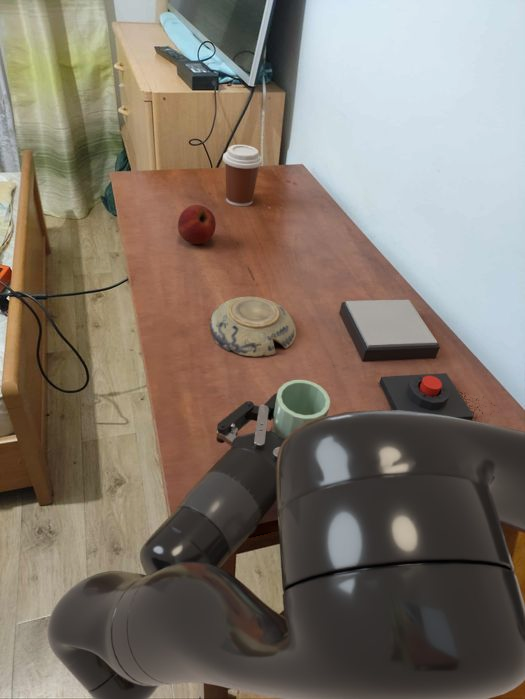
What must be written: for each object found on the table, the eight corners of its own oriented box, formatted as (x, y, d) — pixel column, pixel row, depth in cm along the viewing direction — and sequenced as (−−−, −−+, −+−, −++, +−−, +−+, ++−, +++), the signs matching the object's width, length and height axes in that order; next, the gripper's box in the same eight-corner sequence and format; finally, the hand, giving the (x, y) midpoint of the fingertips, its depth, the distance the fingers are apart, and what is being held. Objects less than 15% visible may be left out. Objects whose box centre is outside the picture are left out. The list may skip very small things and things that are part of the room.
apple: (184, 253, 101) (184, 215, 96) (173, 234, 107) (172, 198, 101) (219, 248, 104) (221, 212, 99) (206, 230, 109) (207, 195, 104)
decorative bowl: (241, 292, 93) (188, 329, 83) (243, 274, 91) (188, 311, 81) (311, 326, 88) (263, 371, 78) (315, 309, 86) (266, 353, 75)
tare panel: (443, 379, 81) (450, 365, 79) (470, 422, 74) (478, 408, 72) (378, 382, 78) (383, 368, 76) (400, 427, 72) (406, 413, 70)
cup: (308, 430, 70) (322, 378, 63) (320, 469, 65) (336, 416, 58) (263, 434, 68) (272, 380, 62) (272, 473, 64) (283, 420, 57)
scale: (405, 311, 94) (410, 297, 92) (435, 358, 85) (441, 344, 83) (339, 312, 91) (342, 299, 90) (362, 361, 82) (366, 347, 80)
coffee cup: (225, 189, 126) (228, 140, 119) (261, 196, 126) (266, 146, 118) (216, 204, 119) (218, 153, 112) (253, 211, 119) (259, 160, 111)
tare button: (433, 382, 76) (437, 375, 75) (441, 396, 74) (445, 388, 73) (416, 383, 75) (419, 376, 74) (424, 397, 73) (427, 389, 72)
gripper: (292, 520, 48) (366, 416, 59) (176, 444, 53) (263, 362, 65) (282, 559, 53) (352, 456, 64) (176, 486, 58) (258, 403, 69)
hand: (307, 409), depth 64 cm, fingers closed on cup, 6 cm apart
